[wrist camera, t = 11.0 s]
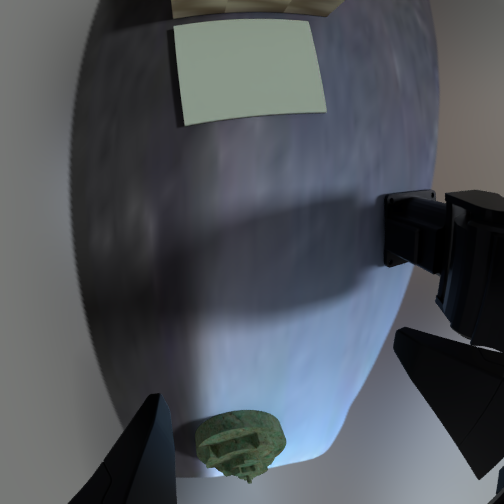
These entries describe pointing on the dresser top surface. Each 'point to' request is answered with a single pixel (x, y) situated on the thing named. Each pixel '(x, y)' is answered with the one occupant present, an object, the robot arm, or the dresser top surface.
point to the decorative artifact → (240, 442)
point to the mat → (247, 69)
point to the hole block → (253, 6)
